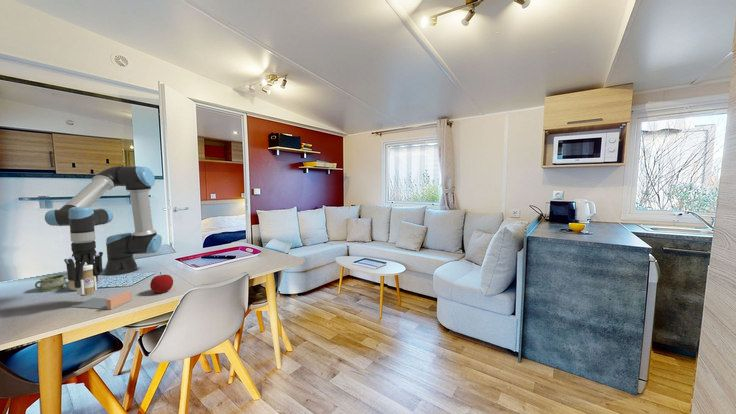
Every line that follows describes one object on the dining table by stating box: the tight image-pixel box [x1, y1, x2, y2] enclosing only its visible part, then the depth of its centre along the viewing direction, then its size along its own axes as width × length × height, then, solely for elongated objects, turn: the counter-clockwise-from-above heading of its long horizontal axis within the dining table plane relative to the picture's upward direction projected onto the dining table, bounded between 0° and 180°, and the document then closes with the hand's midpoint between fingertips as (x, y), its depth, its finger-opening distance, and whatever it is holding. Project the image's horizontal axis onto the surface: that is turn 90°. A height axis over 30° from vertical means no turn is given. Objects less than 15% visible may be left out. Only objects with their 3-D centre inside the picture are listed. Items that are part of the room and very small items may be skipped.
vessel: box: [34, 274, 68, 293], centre depth 137 cm, size 12×9×6 cm
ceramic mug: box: [66, 280, 99, 292], centre depth 139 cm, size 11×8×8 cm
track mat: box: [70, 291, 132, 310], centre depth 121 cm, size 9×20×4 cm, turn 84°
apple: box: [149, 272, 174, 294], centre depth 136 cm, size 9×9×10 cm
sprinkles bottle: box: [79, 264, 95, 297], centre depth 121 cm, size 5×5×13 cm
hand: (87, 291), depth 122 cm, fingers closed on sprinkles bottle, 4 cm apart
